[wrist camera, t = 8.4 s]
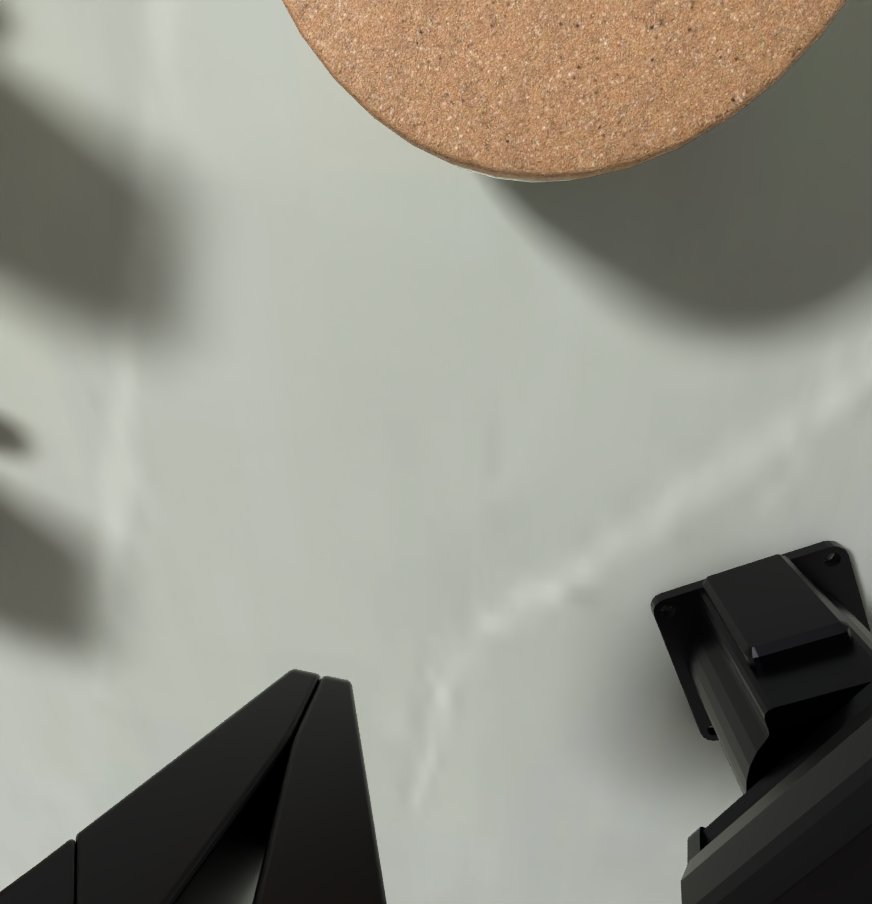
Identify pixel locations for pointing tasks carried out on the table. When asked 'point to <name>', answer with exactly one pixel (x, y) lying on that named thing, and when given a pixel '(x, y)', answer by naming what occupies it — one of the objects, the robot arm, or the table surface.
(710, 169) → the table surface
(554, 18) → the lidded jar
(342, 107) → the table surface
